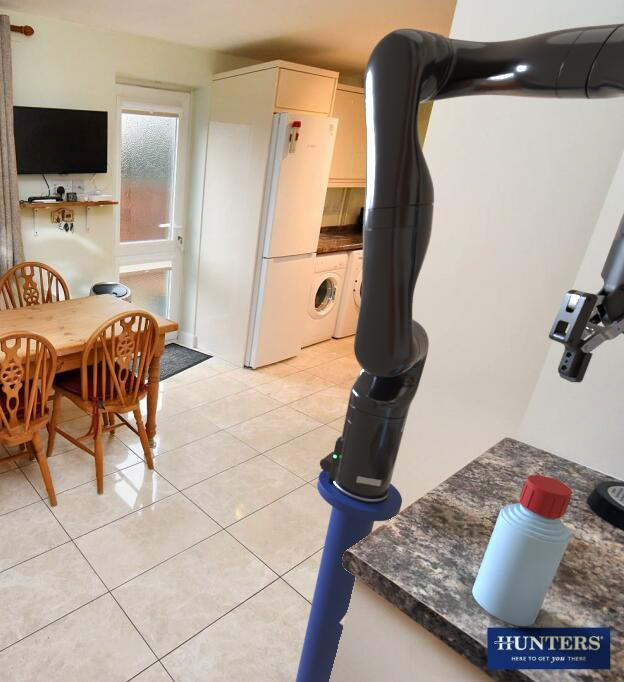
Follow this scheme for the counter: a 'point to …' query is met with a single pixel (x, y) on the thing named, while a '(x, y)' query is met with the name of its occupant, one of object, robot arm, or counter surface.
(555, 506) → the cap
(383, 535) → the counter surface
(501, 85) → the robot arm
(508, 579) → the bottle
